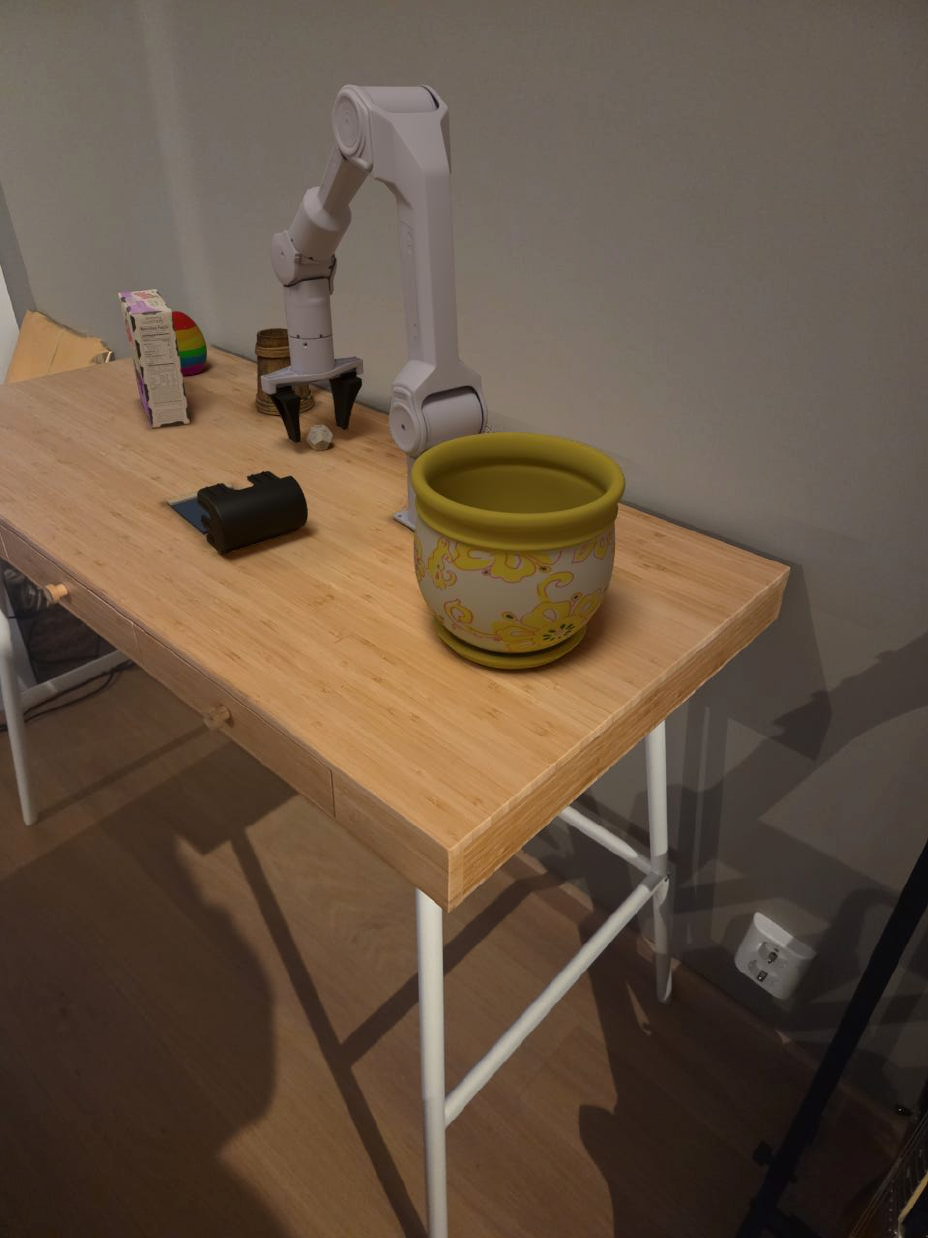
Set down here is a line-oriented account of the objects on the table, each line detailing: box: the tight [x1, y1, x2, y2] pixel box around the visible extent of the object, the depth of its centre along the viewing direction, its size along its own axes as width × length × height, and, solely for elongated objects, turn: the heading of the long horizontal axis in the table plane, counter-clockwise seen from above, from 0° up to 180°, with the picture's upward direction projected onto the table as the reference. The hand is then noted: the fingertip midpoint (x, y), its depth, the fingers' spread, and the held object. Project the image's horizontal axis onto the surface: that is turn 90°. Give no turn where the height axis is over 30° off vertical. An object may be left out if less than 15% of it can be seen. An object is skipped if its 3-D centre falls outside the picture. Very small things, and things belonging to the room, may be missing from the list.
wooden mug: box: [254, 327, 315, 416], centre depth 126 cm, size 9×14×18 cm, turn 126°
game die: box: [305, 423, 334, 452], centre depth 115 cm, size 4×4×3 cm
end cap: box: [196, 470, 309, 555], centre depth 91 cm, size 10×7×7 cm
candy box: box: [117, 288, 191, 429], centre depth 122 cm, size 14×6×16 cm, turn 25°
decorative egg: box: [172, 310, 208, 377], centre depth 141 cm, size 8×8×10 cm
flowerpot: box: [411, 431, 626, 670], centre depth 74 cm, size 18×18×16 cm
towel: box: [166, 482, 234, 535], centre depth 99 cm, size 10×8×1 cm
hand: (319, 433), depth 115 cm, fingers open, 7 cm apart
